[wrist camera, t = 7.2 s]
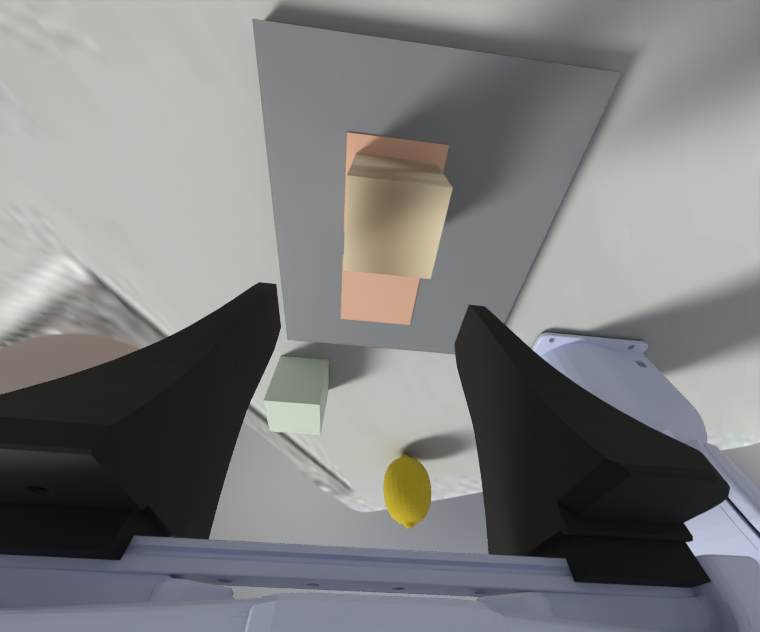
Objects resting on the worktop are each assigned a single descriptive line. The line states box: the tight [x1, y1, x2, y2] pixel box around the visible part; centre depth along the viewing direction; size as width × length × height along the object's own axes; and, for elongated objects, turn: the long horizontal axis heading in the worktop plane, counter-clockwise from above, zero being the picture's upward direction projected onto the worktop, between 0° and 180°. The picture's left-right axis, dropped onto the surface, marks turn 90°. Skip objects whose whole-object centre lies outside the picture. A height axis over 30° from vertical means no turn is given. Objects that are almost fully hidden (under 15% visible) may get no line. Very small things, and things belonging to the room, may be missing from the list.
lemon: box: [384, 454, 431, 529], centre depth 35 cm, size 6×6×8 cm
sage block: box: [264, 356, 329, 435], centre depth 27 cm, size 4×4×5 cm
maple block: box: [343, 153, 453, 279], centre depth 16 cm, size 4×4×5 cm
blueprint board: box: [252, 19, 621, 354], centre depth 20 cm, size 17×19×1 cm
